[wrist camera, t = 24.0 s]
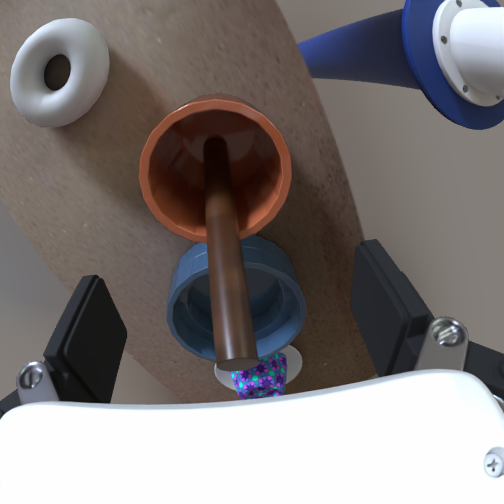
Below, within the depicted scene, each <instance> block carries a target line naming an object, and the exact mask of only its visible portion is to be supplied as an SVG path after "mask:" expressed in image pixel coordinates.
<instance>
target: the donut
mask: <svg viewBox="0 0 504 504" xmlns="http://www.w3.org/2000/svg"><path fill="white" fill-rule="evenodd" d="M58 54H63V55H65V56H66V57H67V58H68V59H69V61H70V64H71V73H70V77H69V79H68V82H67V83H66V84H65V85H64V87H62V88H61V89H60V90H57V91H53V90H50V89H49V88H48V87H47V86H46V84H45V82H44V71H45V67H46V65H47V63H48V62H49V60H50V59H51V58H52V57H54V56H55V55H58ZM109 66H110V61H109V52H108V46H107V44H106V42H105V40H104V38H103V36H102V34H101V33H100V32H99V31H98V30H97V29H96V28H94V27H93V26H92V25H91V24H90V23H89V22H86V21H82V20H79V19H76V18H70V19H59V20H55V21H53V22H50V23H48V24H46V25H44V26H42V27H41V28H39V29H38V30H37V31H36V32H35V33H33V34H32V35H31V36H30V37H29V38H28V39H27V40H26V41H25V43H24V44H23V46H22V47H21V49H20V50H19V51H18V53H17V56H16V59H15V61H14V64H13V66H12V72H11V80H10V87H11V94H12V99H13V101H14V103H15V105H16V108H17V110H18V111H19V112H20V113H21V114H22V115H23V116H24V117H25V118H26V119H27V120H28V121H29V122H31V123H33V124H35V125H38V126H40V127H53V128H56V127H60V126H64V125H67V124H70V123H73V122H74V121H75V120H77V119H78V118H80V117H81V116H83V115H84V114H85V113H87V112H88V111H89V110H90V108H91V107H92V106H93V105H94V103H95V102H96V101H97V100H98V99H99V97H100V95H101V93H102V91H103V88H104V86H105V84H106V82H107V77H108V71H109Z"/></svg>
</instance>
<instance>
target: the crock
mask: <svg viewBox="0 0 504 504" xmlns="http://www.w3.org/2000/svg"><path fill="white" fill-rule="evenodd" d="M211 138H221V139H223V140H224V141H225V142H226V144H227V149H228V156H229V164H230V171H231V178H232V185H233V192H234V199H235V206H236V212H237V219H238V226H239V233H240V240H242V239H244V238H246V237H248V236H251V235H253V234H255V233H257V232H258V231H260V230H261V229H262V228H263V227H264V226H266V225H267V224H268V223H269V222H270V221H272V220H273V219H274V218H275V216H276V215H277V213H278V212H279V210H280V209H281V207H282V206H283V204H284V203H285V201H286V199H287V195H288V192H289V188H290V184H291V181H292V168H291V156H290V153H289V150H288V148H287V146H286V143H285V141H284V139H283V136H282V134H281V133H280V132H279V130H278V129H277V128H276V127H275V126H274V125H273V124H272V123H271V122H270V121H269V120H268V118H267V117H266V116H265V115H263V114H262V113H261V112H260V111H259V110H258V109H257V108H256V107H254V106H253V105H252V104H251V103H249V102H247V101H245V100H243V99H241V98H239V97H237V96H234V95H229V94H222V93H215V94H208V95H202V96H199V97H197V98H195V99H193V100H191V101H189V102H187V103H185V104H184V105H182V106H181V107H179V108H178V109H176V110H175V111H173V112H172V113H170V114H169V115H168V116H167V117H166V118H165V119H164V120H163V121H162V122H161V123H160V124H159V125H158V126H157V127H156V128H155V129H154V130H153V131H152V132H151V134H150V136H149V138H148V140H147V142H146V145H145V147H144V149H143V151H142V154H141V158H140V170H139V181H140V185H141V189H142V193H143V197H144V200H145V202H146V203H147V205H148V207H149V208H150V210H151V211H152V213H153V215H154V216H155V218H156V219H157V220H158V221H159V222H161V223H162V224H163V225H164V226H165V227H166V228H168V229H169V230H170V231H171V232H173V233H175V234H177V235H179V236H181V237H184V238H186V239H188V240H191V241H194V242H200V243H207V236H206V216H205V193H204V164H203V146H204V143H205V142H206V141H207V140H208V139H211Z"/></svg>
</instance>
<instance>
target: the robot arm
mask: <svg viewBox="0 0 504 504" xmlns="http://www.w3.org/2000/svg"><path fill="white" fill-rule="evenodd" d="M432 32H433V44H434V49H435V54H436V57H437V60H438V64H439V66H440V68H441V70H442V73H443V75H444V76H445V78H446V80H447V81H448V83H449V84H450V86H451V87H452V88H453V89H454V91H455V92H456V93H457V94H459V95H460V96H461V97H462V98H463V99H465V100H467V101H468V102H470V103H473V104H476V105H480V106H485V107H486V106H493V105H495V104H497V103H499V102H500V101H501V100H503V99H504V7H490V8H489V7H488V6H487V5H486V4H484V3H483V2H482V1H480V0H445V1H444V2H443V3H442V4H441V5H440V6H439V8H438V10H437V11H436V14H435V17H434V21H433V30H432ZM350 307H351V311H352V314H353V316H354V318H355V321H356V323H357V325H358V327H359V330H360V332H361V334H362V337H363V339H364V342H365V344H366V346H367V349H368V351H369V354H370V356H371V359H372V361H373V363H374V366H375V368H376V371H377V373H378V376H379V378H376V379H371V380H367V381H362V382H357V383H352V384H347V385H342V386H337V387H331V388H326V389H320V390H315V391H309V392H303V393H296V394H289V395H282V396H275V397H266V398H258V399H249V400H239V401H227V402H213V403H196V404H165V405H130V404H129V405H128V404H110V401H111V397H112V393H113V389H114V385H115V381H116V377H117V372H118V369H119V365H120V361H121V357H122V353H123V350H124V346H125V343H126V339H127V329H126V327H125V325H124V323H123V321H122V319H121V317H120V315H119V313H118V311H117V309H116V306H115V304H114V302H113V300H112V298H111V296H110V293H109V291H108V289H107V287H106V284H105V282H104V280H103V279H102V278H99V276H98V275H89V276H83V277H82V278H81V280H80V282H79V284H78V285H77V287H76V289H75V291H74V293H73V295H72V297H71V299H70V300H69V302H68V304H67V306H66V308H65V310H64V312H63V314H62V316H61V318H60V320H59V322H58V324H57V326H56V328H55V330H54V332H53V334H52V336H51V338H50V341H49V343H48V345H47V347H46V350H45V352H44V354H43V356H44V357H45V361H44V363H43V362H42V361H37V360H36V361H31V362H29V363H27V364H26V365H25V366H23V367H22V369H21V370H20V371H19V373H18V375H17V378H16V386H17V389H16V390H15V391H13V392H12V393H11V394H9V395H8V396H6V397H5V398H4V399H2V400H1V401H0V504H504V354H502V353H500V352H497V351H495V350H492V349H489V348H487V347H484V346H482V345H479V344H476V343H474V342H471V341H469V334H468V331H467V329H466V327H465V326H464V325H463V324H462V323H461V322H459V321H458V320H456V319H454V318H451V317H439V318H436V319H435V318H434V316H433V315H432V313H431V312H430V310H429V309H428V307H427V306H426V304H425V303H424V301H423V300H422V298H421V297H420V295H419V294H418V292H417V291H416V290H415V288H414V287H413V285H412V284H411V282H410V281H409V279H408V278H407V277H406V275H405V274H404V273H403V272H401V271H400V270H399V269H398V267H397V266H396V264H395V263H394V262H393V260H392V259H391V257H390V256H389V255H388V253H387V252H386V251H385V249H384V248H383V247H382V245H381V244H380V243H379V241H378V240H377V239H373V240H366V241H361V243H360V245H358V246H356V250H355V261H354V272H353V282H352V291H351V299H350Z"/></svg>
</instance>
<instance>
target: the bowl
mask: <svg viewBox="0 0 504 504" xmlns="http://www.w3.org/2000/svg"><path fill="white" fill-rule="evenodd" d="M241 247H242V253H243V260H244V267H245V273H246V280H247V287H248V293H249V300H250V307H251V313H252V320H253V326H254V333H255V339H256V346H257V352H258V359H259V360H261V359H264V358H267V357H270V356H273V355H274V354H276V353H278V352H279V351H281V350H282V349H284V348H285V347H287V346H288V345H289V344H290V343H291V342H292V341H293V340H294V339H295V338H296V337H297V336H298V334H299V333H300V331H301V329H302V327H303V324H304V322H305V320H306V300H305V297H304V294H303V291H302V288H301V285H300V282H299V280H298V277H297V274H296V271H295V269H294V267H293V264H292V262H291V260H290V258H289V256H288V255H287V254H286V253H285V252H284V251H282V250H281V249H280V248H279V247H278V246H277V245H276V244H274V243H272V242H270V241H268V240H266V239H264V238H261V237H259V236H257V235H251V236H248V237H246V238H244V239H242V240H241ZM166 320H167V323H168V326H169V328H170V331H171V333H172V335H173V337H174V338H175V339H176V340H177V341H178V342H179V343H180V344H181V346H182V347H183V348H184V349H186V350H188V351H189V352H191V353H193V354H194V355H196V356H198V357H200V358H203V359H206V360H210V361H213V362H216V357H215V347H214V335H213V324H212V311H211V298H210V284H209V270H208V253H207V243H200V242H199V243H197V244H195V245H194V246H193V247H192V248H191V249H190V250H189V251H187V252H186V253H185V254H184V255H183V256H182V257H181V258H180V260H179V262H178V264H177V266H176V268H175V270H174V272H173V276H172V281H171V287H170V292H169V297H168V303H167V319H166Z"/></svg>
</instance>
